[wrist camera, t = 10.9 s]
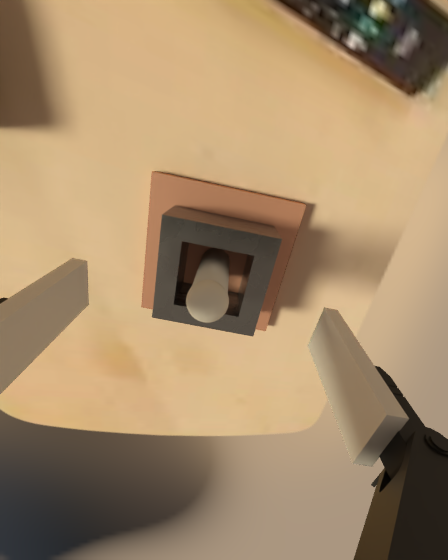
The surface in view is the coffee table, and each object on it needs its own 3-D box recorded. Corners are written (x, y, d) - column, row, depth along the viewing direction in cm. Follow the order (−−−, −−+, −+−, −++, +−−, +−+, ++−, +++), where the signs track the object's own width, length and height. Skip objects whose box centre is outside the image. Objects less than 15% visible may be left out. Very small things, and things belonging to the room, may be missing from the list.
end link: (175, 205, 20) (162, 214, 17) (274, 225, 21) (282, 239, 17) (165, 293, 24) (152, 317, 20) (250, 310, 24) (253, 336, 20)
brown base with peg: (155, 171, 20) (98, 177, 12) (303, 203, 21) (349, 231, 12) (144, 301, 25) (99, 372, 17) (264, 325, 26) (278, 404, 17)
